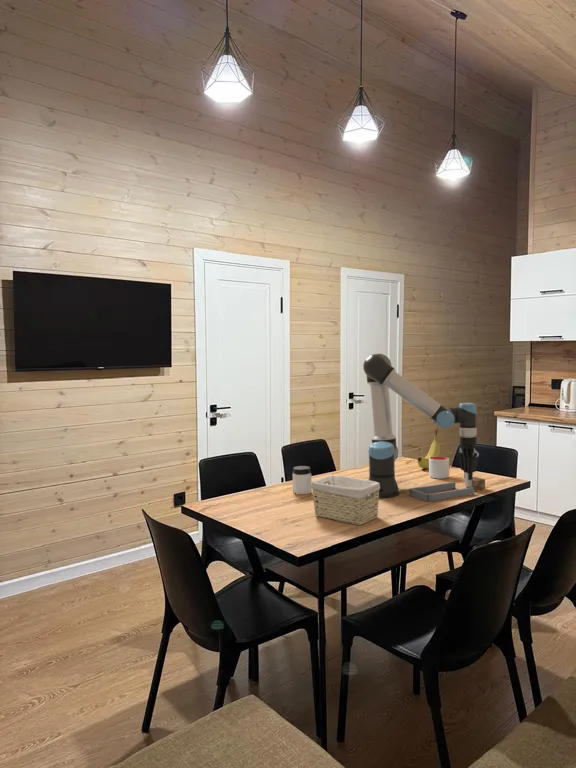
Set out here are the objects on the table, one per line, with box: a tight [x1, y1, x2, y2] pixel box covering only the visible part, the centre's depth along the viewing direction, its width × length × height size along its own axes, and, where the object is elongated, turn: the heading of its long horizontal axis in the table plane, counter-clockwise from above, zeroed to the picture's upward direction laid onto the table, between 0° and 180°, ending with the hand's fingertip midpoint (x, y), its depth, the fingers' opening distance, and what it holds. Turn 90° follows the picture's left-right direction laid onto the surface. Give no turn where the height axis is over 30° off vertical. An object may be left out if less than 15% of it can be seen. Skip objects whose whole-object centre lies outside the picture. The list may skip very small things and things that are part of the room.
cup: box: [428, 455, 450, 480], centre depth 293 cm, size 10×10×10 cm
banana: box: [417, 429, 441, 469], centre depth 317 cm, size 23×6×20 cm, turn 139°
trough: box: [408, 481, 475, 503], centre depth 259 cm, size 26×13×3 cm, turn 115°
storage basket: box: [311, 474, 380, 526], centre depth 228 cm, size 24×16×15 cm
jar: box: [292, 465, 313, 495], centre depth 269 cm, size 9×8×12 cm
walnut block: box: [465, 476, 486, 492], centre depth 267 cm, size 6×6×5 cm
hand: (468, 486), depth 265 cm, fingers closed
